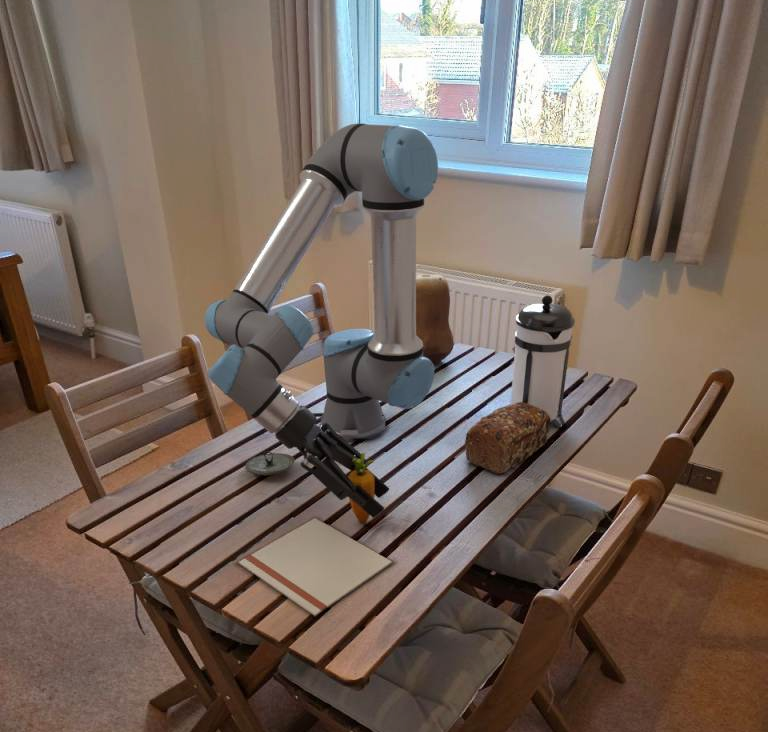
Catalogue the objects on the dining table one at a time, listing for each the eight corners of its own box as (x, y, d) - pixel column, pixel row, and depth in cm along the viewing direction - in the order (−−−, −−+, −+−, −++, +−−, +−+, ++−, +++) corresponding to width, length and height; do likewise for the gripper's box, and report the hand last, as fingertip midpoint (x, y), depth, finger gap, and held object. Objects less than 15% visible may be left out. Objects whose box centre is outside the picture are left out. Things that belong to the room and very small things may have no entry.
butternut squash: (429, 350, 206) (431, 265, 193) (462, 362, 197) (465, 274, 184) (394, 362, 198) (393, 275, 185) (426, 376, 190) (427, 285, 176)
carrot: (361, 513, 134) (358, 446, 126) (381, 523, 131) (379, 454, 123) (344, 525, 130) (340, 456, 123) (364, 535, 128) (361, 465, 120)
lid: (267, 493, 143) (270, 474, 140) (234, 469, 147) (236, 450, 144) (302, 473, 151) (305, 455, 148) (269, 450, 154) (272, 432, 151)
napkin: (238, 563, 121) (238, 561, 121) (315, 519, 132) (315, 517, 132) (315, 616, 110) (314, 614, 109) (391, 563, 121) (391, 561, 120)
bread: (502, 478, 144) (505, 435, 138) (461, 461, 150) (463, 420, 145) (550, 445, 155) (555, 405, 150) (510, 430, 161) (513, 391, 156)
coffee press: (579, 415, 167) (597, 292, 152) (545, 439, 157) (560, 310, 142) (518, 396, 177) (529, 279, 162) (482, 417, 167) (490, 295, 152)
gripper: (286, 431, 111) (388, 521, 118) (313, 384, 127) (402, 465, 134) (258, 458, 115) (359, 544, 121) (287, 408, 131) (375, 487, 137)
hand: (381, 502), depth 128 cm, fingers open, 6 cm apart
